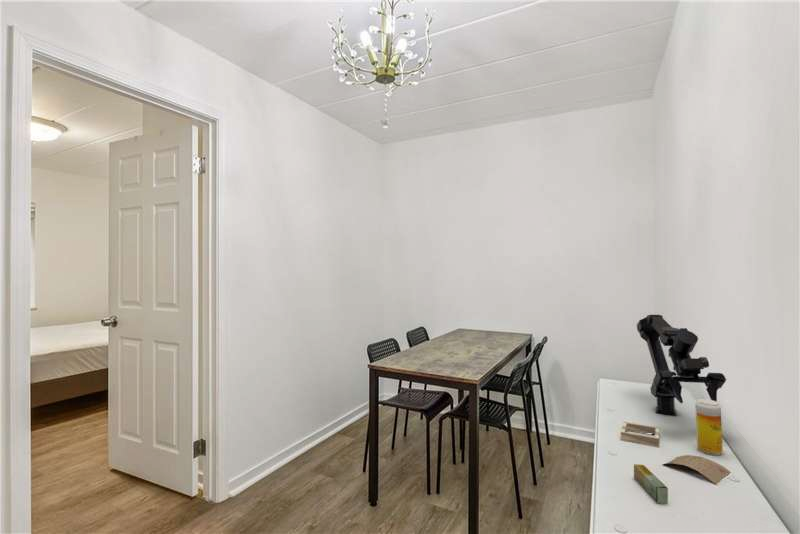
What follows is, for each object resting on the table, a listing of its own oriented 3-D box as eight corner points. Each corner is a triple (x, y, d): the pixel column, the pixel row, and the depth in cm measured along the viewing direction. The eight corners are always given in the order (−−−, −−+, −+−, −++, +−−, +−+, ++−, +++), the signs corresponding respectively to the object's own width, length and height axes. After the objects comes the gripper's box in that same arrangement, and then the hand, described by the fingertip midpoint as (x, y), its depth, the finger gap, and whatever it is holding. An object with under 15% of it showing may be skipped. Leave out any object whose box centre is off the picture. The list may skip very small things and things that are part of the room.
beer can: (724, 457, 115) (722, 406, 115) (698, 453, 118) (696, 403, 119) (720, 449, 120) (718, 400, 121) (696, 445, 124) (694, 397, 124)
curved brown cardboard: (659, 466, 113) (659, 457, 113) (675, 456, 118) (675, 447, 118) (721, 489, 100) (720, 478, 100) (736, 477, 106) (736, 466, 106)
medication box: (669, 505, 94) (668, 488, 94) (657, 504, 94) (656, 487, 94) (643, 478, 106) (643, 463, 106) (632, 478, 106) (632, 463, 106)
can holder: (623, 429, 137) (623, 421, 138) (659, 435, 132) (659, 427, 132) (621, 440, 129) (620, 432, 129) (659, 447, 123) (658, 439, 123)
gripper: (657, 347, 133) (671, 389, 122) (721, 348, 128) (743, 392, 118) (649, 365, 141) (662, 406, 130) (710, 366, 136) (729, 409, 125)
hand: (698, 403), depth 125 cm, fingers open, 9 cm apart
